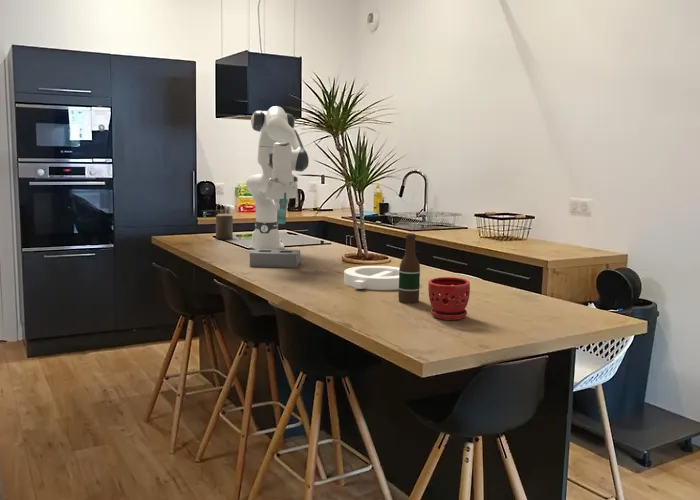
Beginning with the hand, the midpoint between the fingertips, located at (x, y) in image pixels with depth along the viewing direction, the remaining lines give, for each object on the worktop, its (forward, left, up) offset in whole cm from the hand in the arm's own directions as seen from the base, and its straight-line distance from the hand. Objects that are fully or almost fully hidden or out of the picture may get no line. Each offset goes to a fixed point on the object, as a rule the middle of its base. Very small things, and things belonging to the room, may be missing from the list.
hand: (281, 208), depth 302 cm
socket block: (0, -3, -26) cm, 26 cm away
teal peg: (0, 0, -7) cm, 7 cm away
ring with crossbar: (+35, +45, -26) cm, 63 cm away
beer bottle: (+67, +56, -26) cm, 91 cm away
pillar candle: (-82, -47, -26) cm, 98 cm away
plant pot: (+88, +68, -26) cm, 114 cm away
